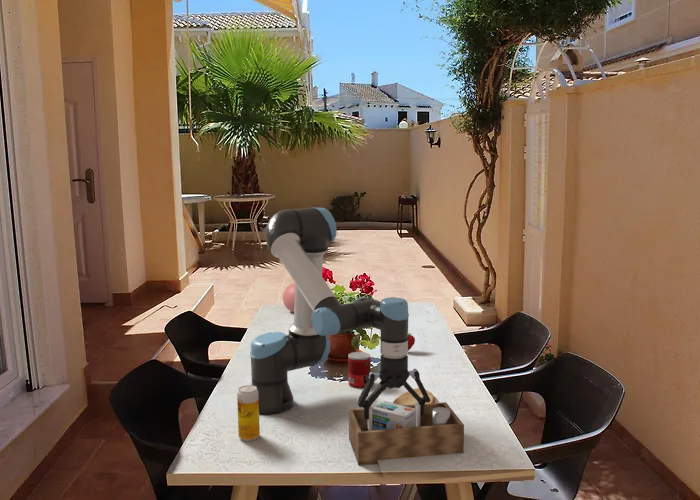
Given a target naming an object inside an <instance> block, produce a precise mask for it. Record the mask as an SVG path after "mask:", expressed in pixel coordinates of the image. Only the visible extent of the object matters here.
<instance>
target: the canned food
mask: <svg viewBox="0 0 700 500" xmlns="http://www.w3.org/2000/svg"><path fill="white" fill-rule="evenodd" d="M371 360H372V359H371V354H370V353H368V352H365V351H354V352H353V351H352V352H350V353H348V357H347V365H348V366H347V369H348V370H347V375H348V385H349V386H350V387H351V388H355V389H364V387H365V385H366V383H367V381H368V377H369V372H370V371H372V369H371V368H372V367H371V363H372V362H371Z"/></svg>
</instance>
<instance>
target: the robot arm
mask: <svg viewBox="0 0 700 500" xmlns="http://www.w3.org/2000/svg"><path fill="white" fill-rule="evenodd" d="M265 227H266V228H265V233H264V238H265V242H266V245H267V248H268V250H269V251H270V253H271V255H272V256H273V257H274V258H276V259H277V258H278V259H279V260H280V262H281V264H282V265H283V267H284V269H285V270H286V272H287V273H288V274H289V276H290V278H291V279H292V280H293V283H295V304H294V312H293V322H292V323H291V324H290V325H289V327H288V334H285V333H284V332H282V331H273V332H272V331H270V332H264V333H262V334H260V335H257V336H256V337H254V338H253V340H252V341H251V343H250V351H249V355H250V370H251V374H250V375H251V385H252V386H256V387H257V390H258V396H259V415H260V414H261V415H273V414H279V413H284V412H286V411H288V410H290V409H291V408H293V406H294V403H295V402H294V396H293V392H292V389H291V387H290V384H289V379H288V372H291V371H296V370H300V369H304V368H309V367H314V366H317V365H320V364H323V362H325V361H326V360H327V358H328V356H329V354H330V350H331V342H330V340H329V339H330V337H329V336H333V335H337V334H340V333H345V332H350V331H356V330H360V329H367V328H370V327H371V328H374V329H377V330H379V331H380V339H379V340H380V347H379V348H380V350H379V351H380V360H379V361H380V367H379V369H380V370H379V372H373V370H371V371H370V372H369V377H368V381H367V383H366V385H365V387H364V388H362V390H361V391H362V392H361V393H360V395H359V397H358V399H357V401H356V402H357V405H358V407H359V408H364V417H365V419H368V430H369V431H372V408H373V407H372V406H373V404H374V403H375V401H377V399H378V398H379V397H380V396H381V395H382V393H383V392H384V391H386V390H387V388H388V389H401V388H402V387H403V388H405V389H406V391H407V392H408V391H409V392H410V394H411V395H412V396H413V397H414V398H415V399H416V400H417V401H418V402H415V409H416V427H420V415H423V414H424V405H425V403H426V402H430V398H429V396H428V394H427V392H426V390H427V389H425V386H424V385H423V383H422V380H421V377H420V372H419V370H418V369H417V368H413V369H412V370H409V356H408V354H409V351H408V333H409V316H410V313H409V304H408V301H407V300H406V299H404V298H403V297H396V296H395V297H394V296H391V297H384V298H383V299H382V300H377V299H374V298H372V297H366V296H361V297H358V298H357V299H355V300H354V301H353V302H349V303H341V302H340V301H339V299H338V298H337V297H336V295H335V294H334V292H333V291H332V289H331V287H330V286H329V285H328V283H327V282H326V280H325V279H324V278H323V266H324V265H323V263H324V261H323V260H324V255H325V254H326V253H327V252H328V251H329V244H331V243H332V242H334V240H335V239H336V237H337V223H336V221H335V218H334V216H333V214H332V213H331V212H330V211H329V210H328V209H326V207H325V208H324V207H313V206H312V207H305V208H294V209H292V208H291V209H282V210H278V211H277V212H276V213H274V214H273V215H272V216H271V218H270V219H269V220H268V223H267V225H266V226H265ZM410 377H411V378H412V379H414V382H415V383H416V385H417V388H419V389H420V391H421V393H422V395H423V397H422V398H421V397H420V396H419V395H418V394H417V393H416V392H415V391H414V390H413V389H414V388H413V387H412V386H411V385H410V384H409V383H408V382H407V381H408V379H409V378H410ZM378 379H380V381H379V382H378V384H377V386H376V387H375V389H374V390H372V388H373V386H374V383H375V382H377V380H378ZM371 390H372V392H371ZM370 392H371V393H370Z"/></svg>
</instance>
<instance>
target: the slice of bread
mask: <svg viewBox="0 0 700 500" xmlns="http://www.w3.org/2000/svg"><path fill="white" fill-rule="evenodd" d="M413 390H414V391H415V392H416V393H417V394H418V395H419V396H420V397H421V398H422V397H423V395H422V393H421V391H420V389H419V387H417V388H416V387H415V388H413ZM425 390H426V392H427V394H428V396H429V398H430V402H426V403H425V404H428V403H436V399H435V396H434V394H433V393H432V392H430V391H429V390H427V389H425ZM415 402H418V401H417V400H416V399H415V398H414V397H413V396H412V395H411V394H410V392H409V391H408V390H407V391H406V392H404V393H402V394H400V395H399V396H397V397H396V398H395V399H393V402H392V403H394V404H398V405H414V404H415Z"/></svg>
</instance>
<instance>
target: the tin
mask: <svg viewBox="0 0 700 500" xmlns="http://www.w3.org/2000/svg"><path fill="white" fill-rule="evenodd" d="M449 424H450V410H449V409H447V408H444V407H437V408H434V409H432V426H436V425H449Z"/></svg>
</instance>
